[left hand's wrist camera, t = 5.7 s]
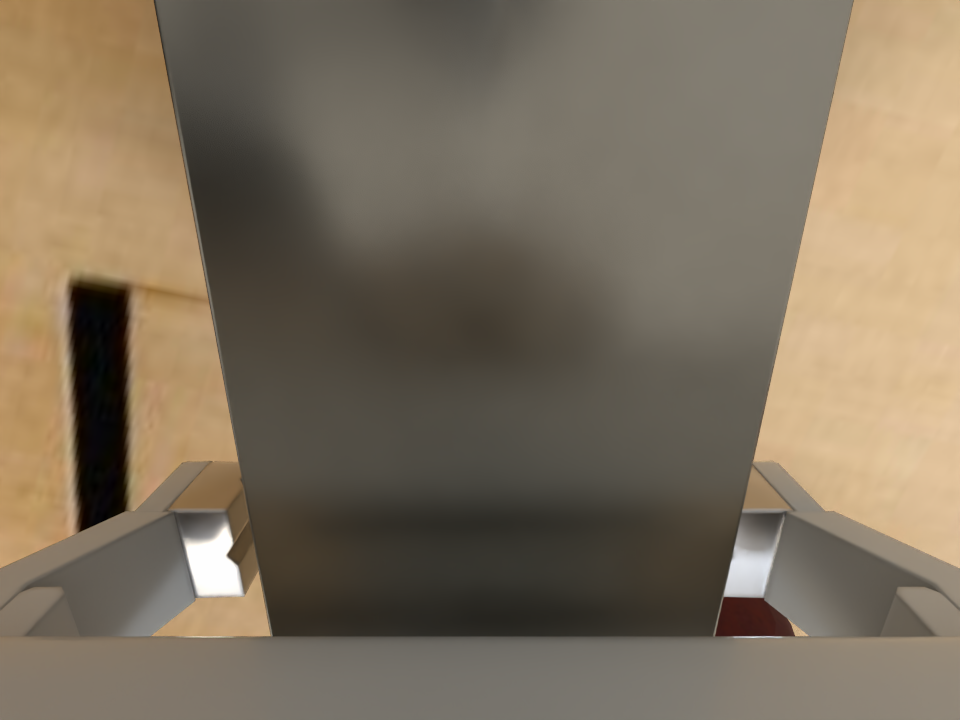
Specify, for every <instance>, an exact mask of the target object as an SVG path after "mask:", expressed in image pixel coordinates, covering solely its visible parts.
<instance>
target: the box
mask: <svg viewBox="0 0 960 720" xmlns="http://www.w3.org/2000/svg"><path fill="white" fill-rule="evenodd" d="M853 1H854V0H154V4H155V10H156V15H157V21H158V26H159V32H160V37H161V42H162V48H163V53H164V59H165V64H166V70H167V75H168V80H169V86H170V91H171V97H172V102H173V108H174V113H175V118H176V124H177V129H178V135H179V140H180V146H181V151H182V156H183V162H184V167H185V173H186V178H187V184H188V189H189V194H190V200H191V205H192V211H193V216H194V222H195V227H196V232H197V238H198V243H199V249H200V254H201V260H202V265H203V270H204V276H205V281H206V287H207V292H208V298H209V303H210V309H211V314H212V319H213V325H214V330H215V336H216V341H217V347H218V352H219V357H220V363H221V368H222V374H223V379H224V385H225V390H226V395H227V401H228V406H229V412H230V417H231V423H232V428H233V433H234V439H235V444H236V450H237V455H238V461H239V466H240V471H241V477H242V482H243V488H244V493H245V499H246V504H247V509H248V515H249V520H250V526H251V531H252V537H253V542H254V548H255V553H256V558H257V564H258V569H259V575H260V580H261V586H262V591H263V596H264V602H265V607H266V613H267V618H268V624H269V629H270V634H271V636H298V637H715V634H716V629H717V624H718V620H719V615H720V611H721V606H722V602H723V597H724V592H725V588H726V583H727V579H728V574H729V569H730V565H731V560H732V556H733V551H734V547H735V542H736V537H737V533H738V528H739V524H740V519H741V514H742V510H743V505H744V501H745V496H746V492H747V487H748V482H749V478H750V473H751V469H752V464H753V460H754V455H755V450H756V446H757V441H758V437H759V432H760V427H761V423H762V418H763V414H764V409H765V405H766V400H767V395H768V391H769V386H770V382H771V377H772V372H773V368H774V363H775V359H776V354H777V350H778V345H779V340H780V336H781V331H782V327H783V322H784V317H785V313H786V308H787V304H788V299H789V295H790V290H791V285H792V281H793V276H794V272H795V267H796V262H797V258H798V253H799V249H800V244H801V240H802V235H803V230H804V226H805V221H806V217H807V212H808V208H809V203H810V198H811V194H812V189H813V185H814V180H815V175H816V171H817V166H818V162H819V157H820V153H821V148H822V143H823V139H824V134H825V130H826V125H827V120H828V116H829V111H830V107H831V102H832V98H833V93H834V88H835V84H836V79H837V75H838V70H839V65H840V61H841V56H842V52H843V47H844V43H845V38H846V33H847V29H848V24H849V20H850V15H851V10H852V6H853Z"/></svg>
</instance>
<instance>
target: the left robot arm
mask: <svg viewBox="0 0 960 720" xmlns="http://www.w3.org/2000/svg"><path fill="white" fill-rule="evenodd" d="M258 570H259V569H258V564H257V558H256V553H255V548H254V542H253V537H252V531H251V526H250V520H249V515H248V509H247V504H246V499H245V493H244V488H243V482H242V477H241V471H240V466H239V462H222V461H215V462H212V461H189V462H184V463H182V464H181V465H180V466H179V467H178V468H177V469H176V470H175V471H174V472H173V473H172V474H171V475H170V476H169V477H168V478H167V479H166V480H165V481H164V482H163V483H162V484H161V485H160V486H159V487H158V488H157V489H156V490H155V491H154V492H153V493H152V494H151V495H150V496H149V497H148V498H147V499H146V500H145V501H144V502H143V503H142V504H141V505H140V506H139V507H138V508H137V509H136V511H126V512H124V513H121V514H119V515H117V516H115V517H113V518H110V519H108V520H106V521H104V522H102V523H99V524H97V525H95V526H93V527H91V528H88V529H86V530H84V531H82V532H80V533H77V534H75V535H73V536H71V537H69V538H66V539H64V540H62V541H60V542H58V543H55V544H53V545H51V546H49V547H46V548H44V549H42V550H40V551H38V552H35V553H33V554H31V555H29V556H27V557H24V558H22V559H20V560H18V561H16V562H13V563H11V564H9V565H7V566H5V567H2V568H0V720H960V569H959V568H957V567H955V566H953V565H951V564H948V563H946V562H944V561H942V560H940V559H937V558H935V557H933V556H931V555H929V554H926V553H924V552H922V551H920V550H918V549H915V548H913V547H911V546H909V545H907V544H905V543H902V542H900V541H898V540H896V539H894V538H891V537H889V536H887V535H885V534H883V533H880V532H878V531H876V530H874V529H872V528H869V527H867V526H865V525H863V524H861V523H858V522H856V521H854V520H852V519H850V518H847V517H845V516H843V515H841V514H839V513H836V512H834V511H825V510H824V509H823V508H822V507H821V506H820V505H819V504H818V503H817V502H816V501H815V500H814V499H813V498H812V497H811V496H810V495H809V494H808V493H807V492H806V491H805V490H804V489H803V488H802V487H801V486H800V485H799V484H798V483H797V482H796V481H795V480H794V479H793V478H792V477H791V476H790V475H789V474H788V473H787V472H786V471H785V470H784V469H783V468H782V467H781V466H780V465H779V464H778V463H776V462H773V461H753V464H752V469H751V473H750V478H749V482H748V487H747V492H746V496H745V501H744V505H743V510H742V514H741V519H740V524H739V528H738V533H737V537H736V542H735V547H734V551H733V556H732V560H731V565H730V569H729V574H728V579H727V583H726V588H725V592H724V597H749V598H765V599H764V600H765V601H766V602H767V603H769V604H770V605H771V606H772V607H774V608H775V609H776V610H777V611H779V612H780V613H781V614H782V615H784V616H785V617H786V618H787V619H789V620H790V621H791V622H792V623H794V624H795V625H796V626H798V627H799V628H800V629H801V630H803V631H804V632H805V633H806V634H808V635H809V636H733V637H298V636H151V635H153V634H154V633H155V632H156V631H158V630H159V629H160V628H161V627H163V626H164V625H165V624H166V623H168V622H169V621H170V620H171V619H173V618H174V617H175V616H177V615H178V614H179V613H180V612H182V611H183V610H184V609H185V608H187V607H188V606H189V605H190V604H192V603H193V602H194V601H195V598H210V597H244V596H245V594H246V592H247V591H248V589H249V587H250V585H251V583H252V581H253V579H254V578H255V576H256V574H257V572H258Z"/></svg>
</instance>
